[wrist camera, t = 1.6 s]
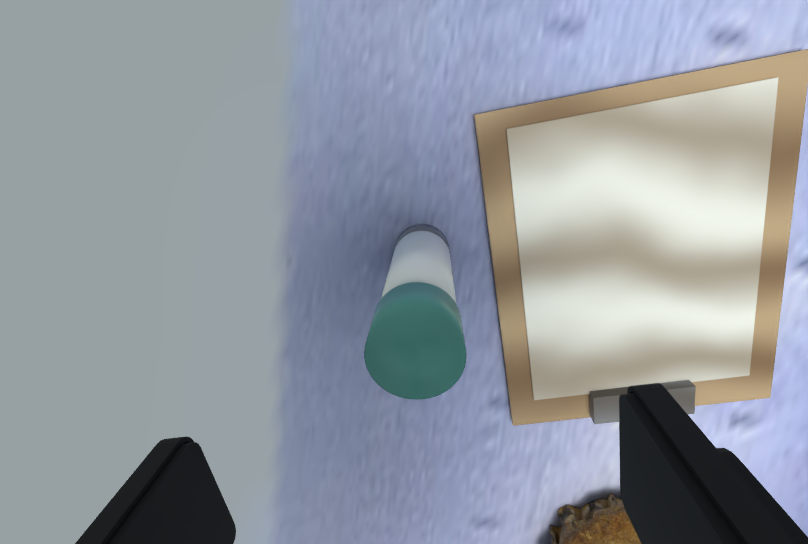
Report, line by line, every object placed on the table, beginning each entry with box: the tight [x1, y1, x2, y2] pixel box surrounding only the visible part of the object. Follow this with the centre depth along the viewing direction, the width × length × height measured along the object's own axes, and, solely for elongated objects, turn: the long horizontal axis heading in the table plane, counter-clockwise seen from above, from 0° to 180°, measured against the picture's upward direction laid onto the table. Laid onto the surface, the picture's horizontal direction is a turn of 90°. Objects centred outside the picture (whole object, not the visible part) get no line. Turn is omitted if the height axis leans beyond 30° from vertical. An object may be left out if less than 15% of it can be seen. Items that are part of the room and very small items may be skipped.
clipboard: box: [474, 49, 808, 426], centre depth 24 cm, size 20×16×2 cm
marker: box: [364, 224, 466, 399], centre depth 20 cm, size 3×3×12 cm
